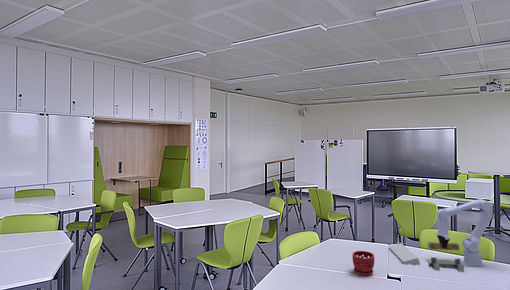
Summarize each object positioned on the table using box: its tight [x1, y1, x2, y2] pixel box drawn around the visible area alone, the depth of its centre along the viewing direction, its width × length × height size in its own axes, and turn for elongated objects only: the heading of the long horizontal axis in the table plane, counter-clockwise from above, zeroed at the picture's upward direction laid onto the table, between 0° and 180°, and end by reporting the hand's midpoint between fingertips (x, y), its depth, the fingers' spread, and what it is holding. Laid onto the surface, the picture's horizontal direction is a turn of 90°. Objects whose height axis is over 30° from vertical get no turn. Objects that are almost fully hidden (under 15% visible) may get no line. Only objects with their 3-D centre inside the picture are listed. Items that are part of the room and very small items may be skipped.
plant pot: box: [351, 250, 375, 277], centre depth 202 cm, size 13×13×12 cm
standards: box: [428, 257, 465, 273], centre depth 206 cm, size 20×6×6 cm, turn 78°
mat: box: [424, 258, 455, 264], centre depth 219 cm, size 20×9×1 cm, turn 78°
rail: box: [427, 241, 460, 251], centre depth 218 cm, size 18×4×4 cm, turn 78°
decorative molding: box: [388, 242, 421, 266], centre depth 232 cm, size 34×5×10 cm
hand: (443, 247), depth 218 cm, fingers closed on rail, 3 cm apart
